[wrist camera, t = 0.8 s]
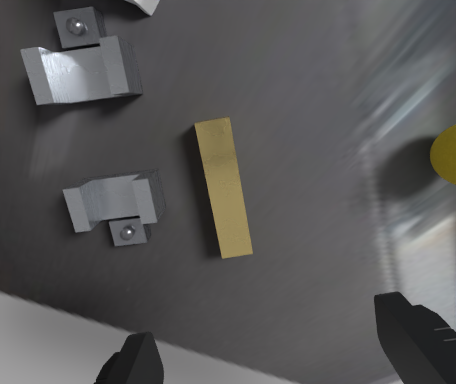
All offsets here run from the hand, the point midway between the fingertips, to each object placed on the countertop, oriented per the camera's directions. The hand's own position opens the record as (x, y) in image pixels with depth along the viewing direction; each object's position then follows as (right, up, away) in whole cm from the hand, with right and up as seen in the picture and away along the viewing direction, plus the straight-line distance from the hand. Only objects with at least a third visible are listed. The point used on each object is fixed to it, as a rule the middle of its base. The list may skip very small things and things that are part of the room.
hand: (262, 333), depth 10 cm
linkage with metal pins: (-12, +10, +17) cm, 23 cm away
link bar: (-1, +6, +19) cm, 20 cm away
